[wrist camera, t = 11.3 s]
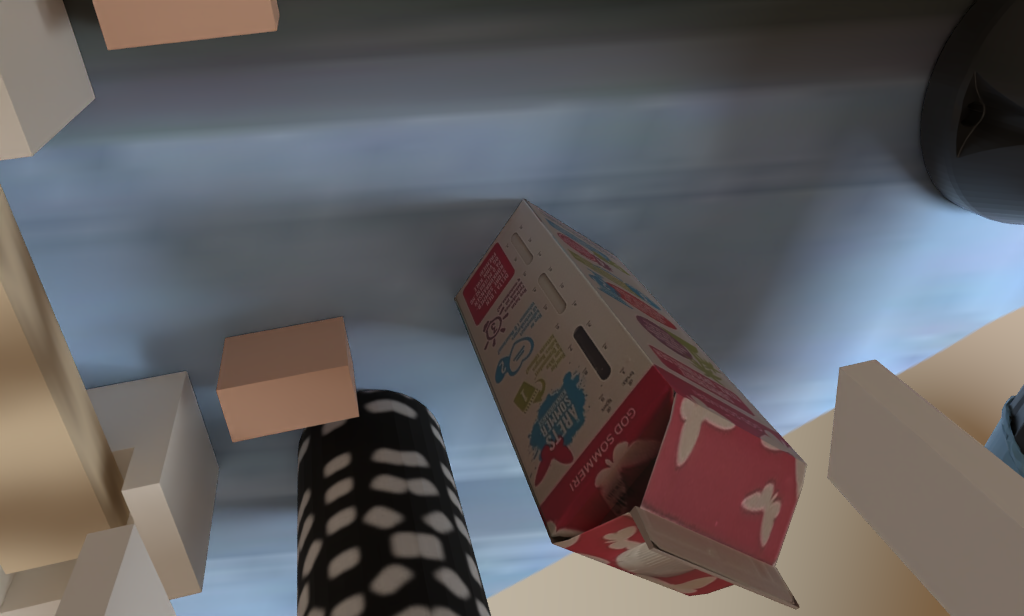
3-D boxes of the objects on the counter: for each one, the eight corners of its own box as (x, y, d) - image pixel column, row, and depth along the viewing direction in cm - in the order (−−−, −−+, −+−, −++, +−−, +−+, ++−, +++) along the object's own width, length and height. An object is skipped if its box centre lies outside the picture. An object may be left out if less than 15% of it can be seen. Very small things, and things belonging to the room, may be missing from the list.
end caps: (-240, -46, 28) (-445, -29, 20) (39, -70, 30) (-53, -64, 22) (35, 506, 41) (-26, 646, 33) (219, 468, 43) (201, 592, 35)
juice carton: (548, 348, 44) (734, 674, 25) (453, 298, 41) (585, 626, 22) (617, 256, 43) (870, 533, 24) (523, 198, 40) (728, 460, 21)
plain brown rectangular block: (110, -47, 31) (79, -40, 26) (263, -62, 32) (258, -57, 27) (239, 386, 41) (232, 442, 36) (352, 364, 42) (359, 416, 37)
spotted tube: (397, 364, 42) (464, 675, 25) (466, 460, 47) (565, 783, 29) (267, 438, 43) (246, 797, 25) (348, 527, 47) (377, 888, 30)
